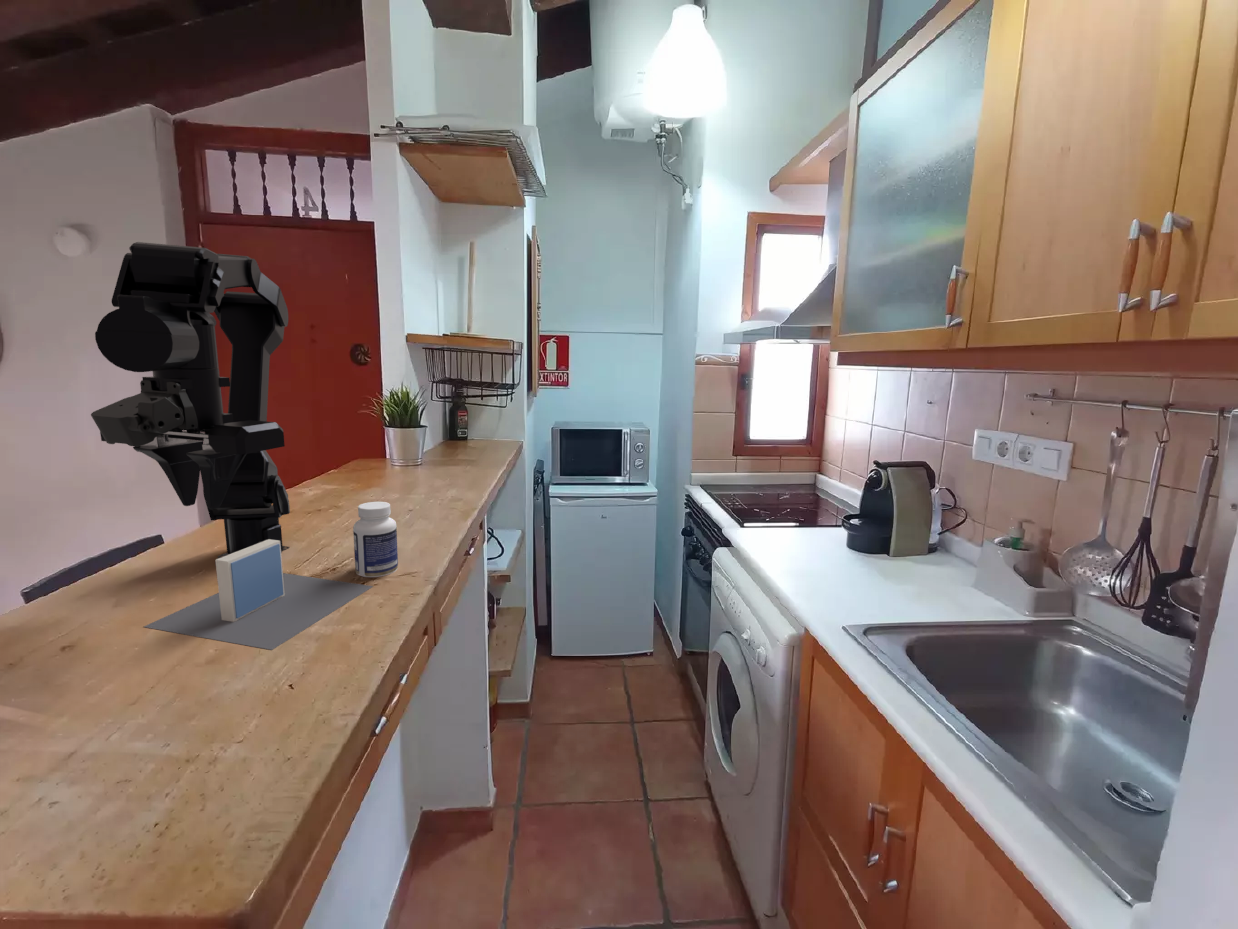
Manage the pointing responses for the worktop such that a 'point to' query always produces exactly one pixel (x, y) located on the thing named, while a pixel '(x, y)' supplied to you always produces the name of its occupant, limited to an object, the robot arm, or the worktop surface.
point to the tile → (249, 579)
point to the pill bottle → (375, 540)
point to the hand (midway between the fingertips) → (201, 506)
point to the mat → (265, 613)
